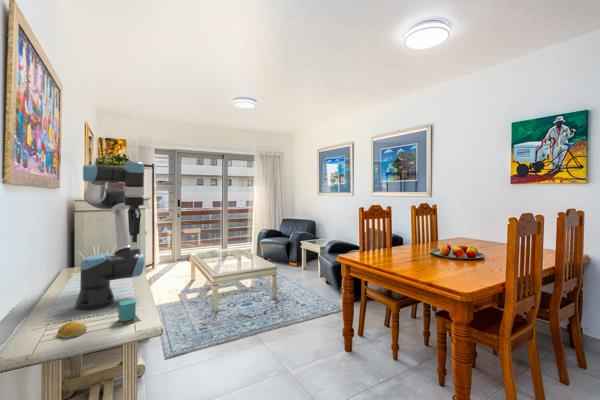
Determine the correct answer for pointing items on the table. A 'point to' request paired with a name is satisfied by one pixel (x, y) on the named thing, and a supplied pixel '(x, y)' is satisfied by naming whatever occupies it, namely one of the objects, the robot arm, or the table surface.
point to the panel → (130, 321)
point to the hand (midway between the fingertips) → (133, 248)
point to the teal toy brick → (126, 310)
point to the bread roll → (71, 329)
